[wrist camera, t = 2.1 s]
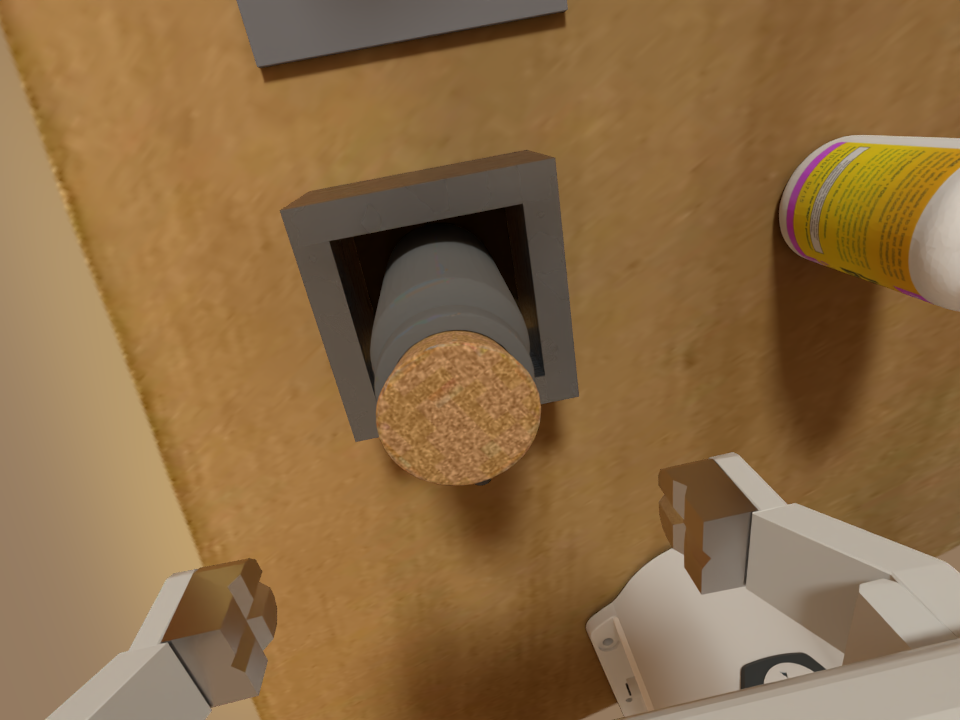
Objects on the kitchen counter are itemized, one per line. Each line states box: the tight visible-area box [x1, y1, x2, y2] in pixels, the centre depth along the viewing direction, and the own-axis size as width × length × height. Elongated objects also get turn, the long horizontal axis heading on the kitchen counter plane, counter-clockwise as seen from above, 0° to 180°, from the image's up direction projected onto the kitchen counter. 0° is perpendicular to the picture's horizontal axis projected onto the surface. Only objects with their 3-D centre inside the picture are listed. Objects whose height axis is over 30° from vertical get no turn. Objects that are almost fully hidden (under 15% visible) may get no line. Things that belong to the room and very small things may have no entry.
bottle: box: [370, 223, 541, 485], centre depth 21 cm, size 6×6×15 cm
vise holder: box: [280, 150, 579, 485], centre depth 27 cm, size 17×11×6 cm, turn 10°
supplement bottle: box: [779, 135, 960, 311], centre depth 23 cm, size 7×7×13 cm
